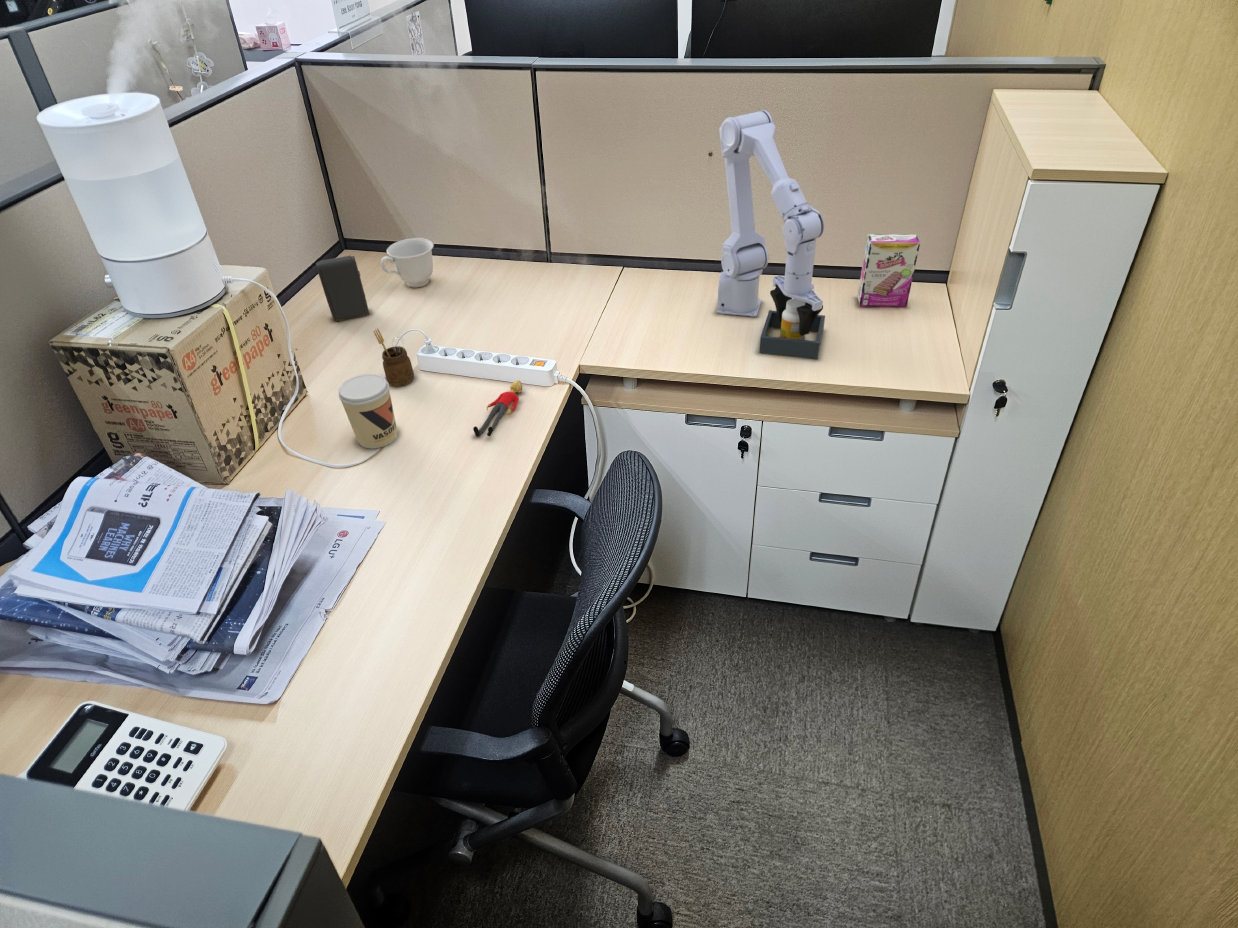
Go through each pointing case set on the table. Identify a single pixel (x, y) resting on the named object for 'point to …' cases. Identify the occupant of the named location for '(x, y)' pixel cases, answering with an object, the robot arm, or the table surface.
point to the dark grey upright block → (343, 287)
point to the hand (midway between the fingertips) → (793, 326)
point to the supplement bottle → (791, 320)
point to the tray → (790, 345)
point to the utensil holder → (396, 363)
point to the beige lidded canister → (369, 409)
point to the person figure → (500, 408)
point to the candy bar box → (888, 270)
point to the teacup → (411, 260)
